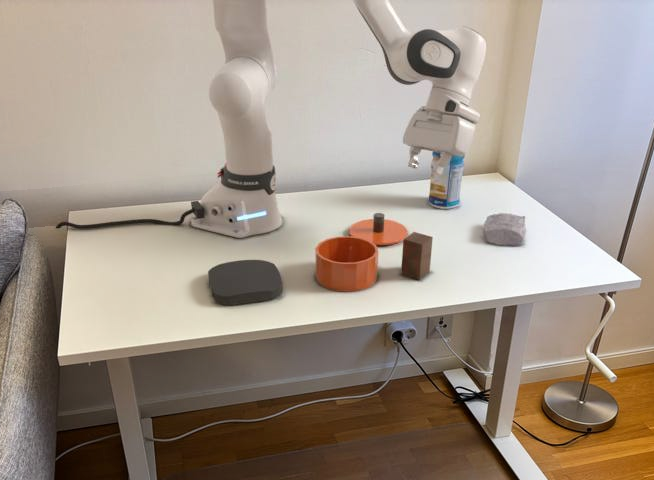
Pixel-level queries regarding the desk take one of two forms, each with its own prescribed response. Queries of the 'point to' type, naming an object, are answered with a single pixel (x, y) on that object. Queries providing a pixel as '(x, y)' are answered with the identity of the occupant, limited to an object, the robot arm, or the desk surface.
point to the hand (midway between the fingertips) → (423, 170)
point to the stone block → (504, 229)
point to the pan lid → (379, 230)
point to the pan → (346, 263)
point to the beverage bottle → (446, 183)
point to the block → (416, 255)
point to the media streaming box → (245, 281)
